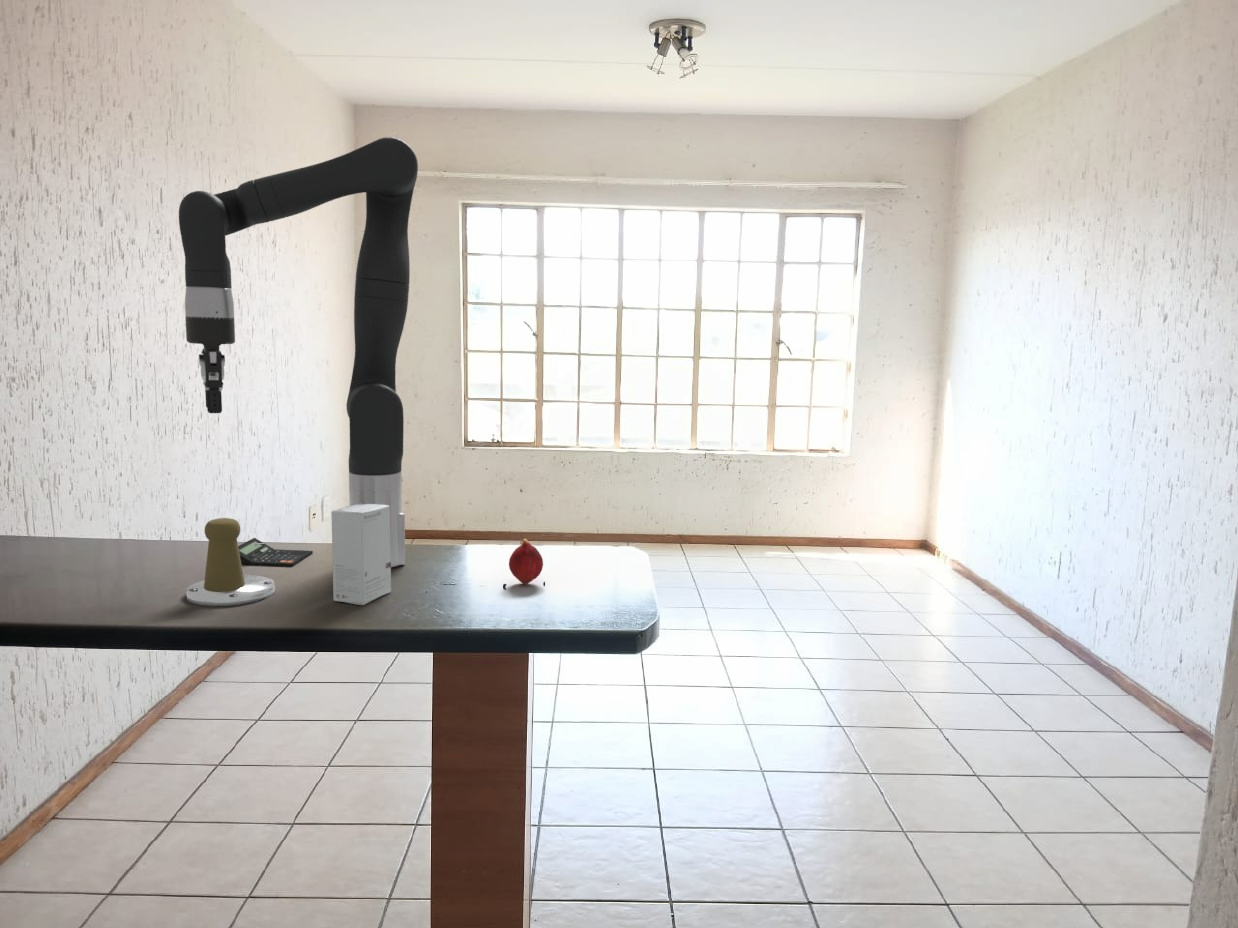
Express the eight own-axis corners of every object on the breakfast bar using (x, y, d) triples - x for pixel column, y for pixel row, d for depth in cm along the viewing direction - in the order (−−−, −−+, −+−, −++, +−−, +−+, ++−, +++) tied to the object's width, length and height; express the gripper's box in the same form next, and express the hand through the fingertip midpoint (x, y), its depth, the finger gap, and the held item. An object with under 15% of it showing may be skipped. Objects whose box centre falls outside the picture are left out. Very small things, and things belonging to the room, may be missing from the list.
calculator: (292, 568, 157) (292, 552, 156) (229, 565, 157) (228, 549, 157) (312, 555, 166) (312, 539, 166) (252, 552, 166) (252, 537, 166)
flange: (270, 578, 149) (270, 571, 149) (278, 600, 138) (278, 592, 137) (186, 586, 143) (185, 579, 143) (187, 610, 132) (186, 601, 131)
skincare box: (363, 606, 136) (362, 513, 134) (330, 601, 138) (328, 509, 136) (393, 591, 144) (392, 503, 142) (361, 587, 146) (360, 500, 143)
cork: (229, 592, 137) (227, 524, 135) (195, 589, 138) (192, 521, 136) (252, 582, 143) (250, 516, 141) (219, 579, 144) (217, 514, 142)
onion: (548, 582, 152) (549, 537, 151) (531, 591, 147) (532, 544, 145) (520, 577, 154) (520, 533, 153) (502, 586, 149) (502, 540, 148)
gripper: (236, 316, 143) (240, 414, 145) (231, 316, 155) (235, 406, 158) (185, 314, 139) (190, 415, 142) (184, 314, 152) (189, 407, 154)
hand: (213, 410), depth 150 cm, fingers open, 8 cm apart
